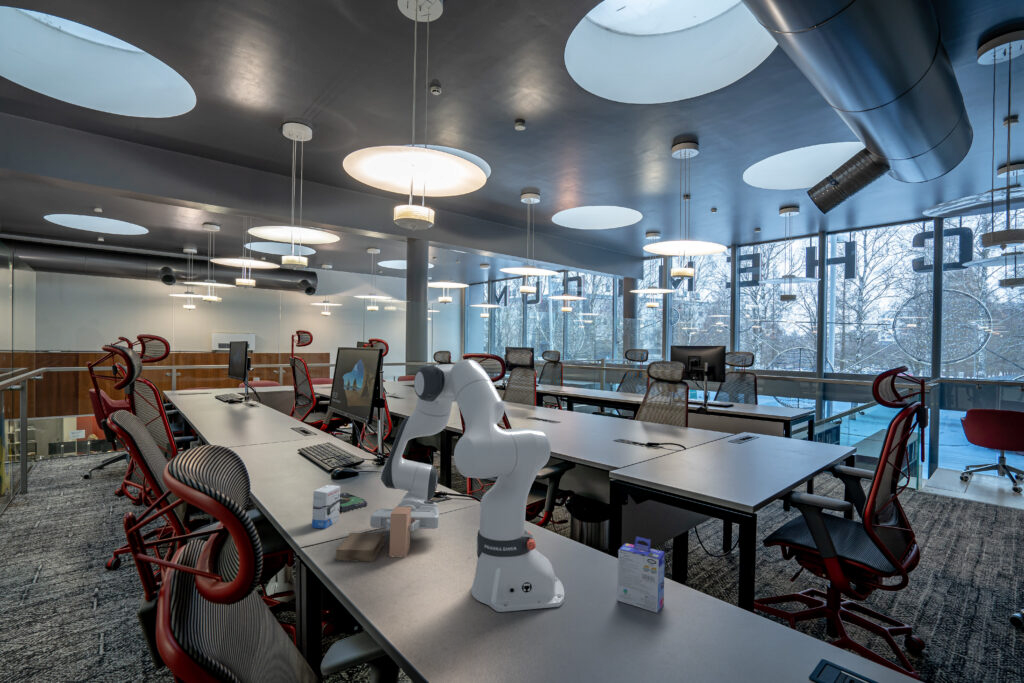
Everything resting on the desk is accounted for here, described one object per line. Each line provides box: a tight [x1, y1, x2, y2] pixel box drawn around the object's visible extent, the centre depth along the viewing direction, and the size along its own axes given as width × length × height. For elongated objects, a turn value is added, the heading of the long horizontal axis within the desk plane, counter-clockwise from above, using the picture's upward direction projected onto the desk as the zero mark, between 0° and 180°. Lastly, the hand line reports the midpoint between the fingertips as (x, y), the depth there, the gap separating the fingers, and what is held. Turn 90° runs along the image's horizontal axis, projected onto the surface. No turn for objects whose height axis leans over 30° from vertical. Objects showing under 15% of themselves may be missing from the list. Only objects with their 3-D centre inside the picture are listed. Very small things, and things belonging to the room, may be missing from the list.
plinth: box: [335, 532, 385, 562], centre depth 134 cm, size 10×12×3 cm
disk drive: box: [339, 492, 368, 513], centre depth 174 cm, size 10×3×15 cm
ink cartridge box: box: [616, 536, 666, 613], centre depth 110 cm, size 10×6×14 cm, turn 58°
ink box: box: [311, 484, 341, 530], centre depth 155 cm, size 8×5×12 cm, turn 168°
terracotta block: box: [388, 506, 411, 558], centre depth 134 cm, size 4×6×12 cm
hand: (400, 528), depth 134 cm, fingers closed on terracotta block, 4 cm apart
